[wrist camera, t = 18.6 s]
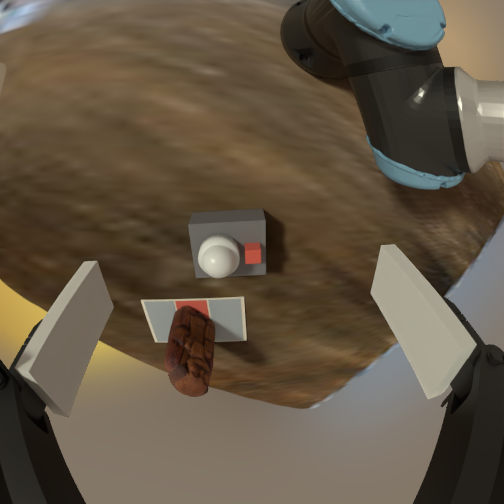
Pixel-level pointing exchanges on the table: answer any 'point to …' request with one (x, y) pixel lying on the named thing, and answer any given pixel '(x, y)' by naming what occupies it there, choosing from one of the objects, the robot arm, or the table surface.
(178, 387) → the wooden figurine
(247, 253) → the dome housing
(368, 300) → the table surface
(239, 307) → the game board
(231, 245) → the dome
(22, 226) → the table surface
